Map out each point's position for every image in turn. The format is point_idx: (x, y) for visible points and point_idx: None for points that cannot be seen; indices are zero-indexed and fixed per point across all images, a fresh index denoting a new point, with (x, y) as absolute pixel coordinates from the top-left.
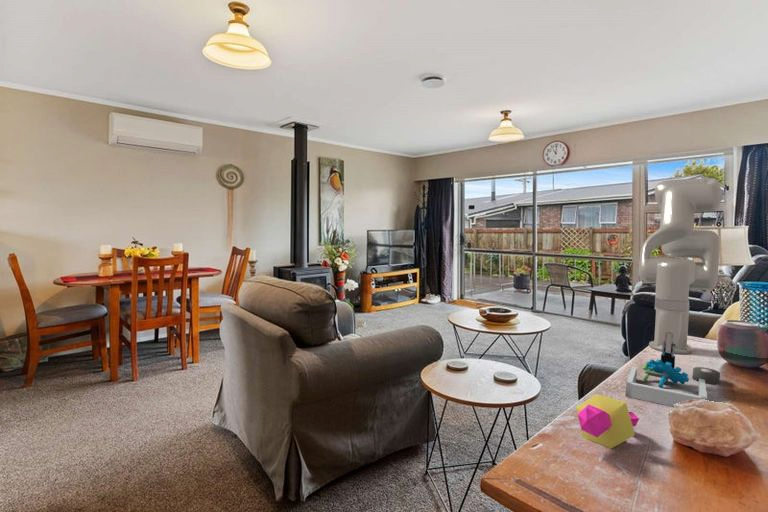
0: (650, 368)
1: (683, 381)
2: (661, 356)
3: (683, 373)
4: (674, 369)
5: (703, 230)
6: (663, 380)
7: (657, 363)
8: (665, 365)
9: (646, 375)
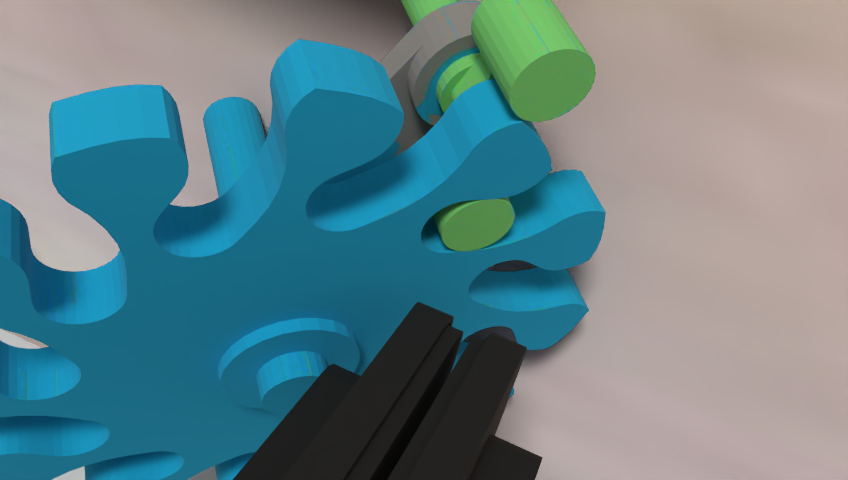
0: (443, 125)
1: None
2: (294, 475)
3: (87, 475)
4: (107, 424)
5: None
6: (221, 194)
7: (9, 218)
8: (70, 342)
9: (418, 4)
